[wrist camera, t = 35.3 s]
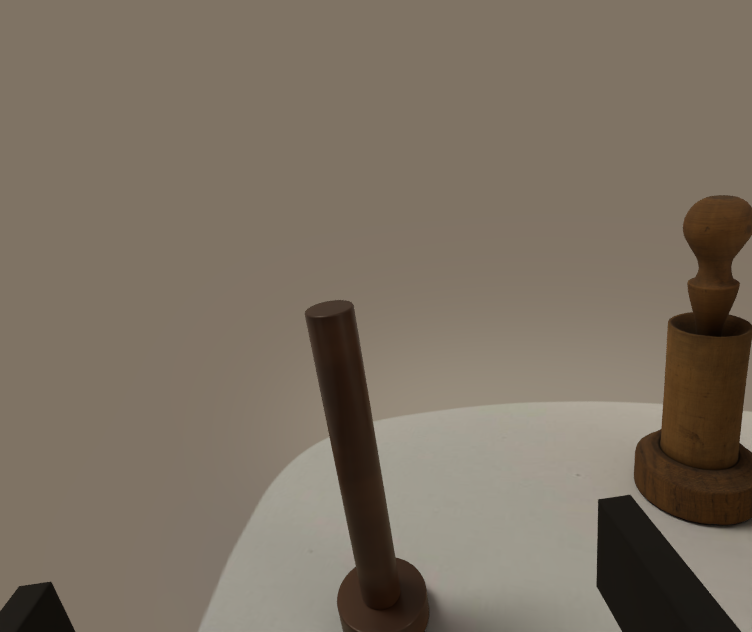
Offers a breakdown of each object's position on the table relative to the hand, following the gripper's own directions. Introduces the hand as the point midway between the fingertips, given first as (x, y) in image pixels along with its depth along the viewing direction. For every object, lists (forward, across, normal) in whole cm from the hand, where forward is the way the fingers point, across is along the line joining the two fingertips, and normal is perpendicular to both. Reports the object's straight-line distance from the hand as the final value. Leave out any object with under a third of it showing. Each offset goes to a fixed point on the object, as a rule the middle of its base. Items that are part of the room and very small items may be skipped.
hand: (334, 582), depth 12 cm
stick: (+10, 0, -13) cm, 16 cm away
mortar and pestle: (+15, +20, -13) cm, 28 cm away
